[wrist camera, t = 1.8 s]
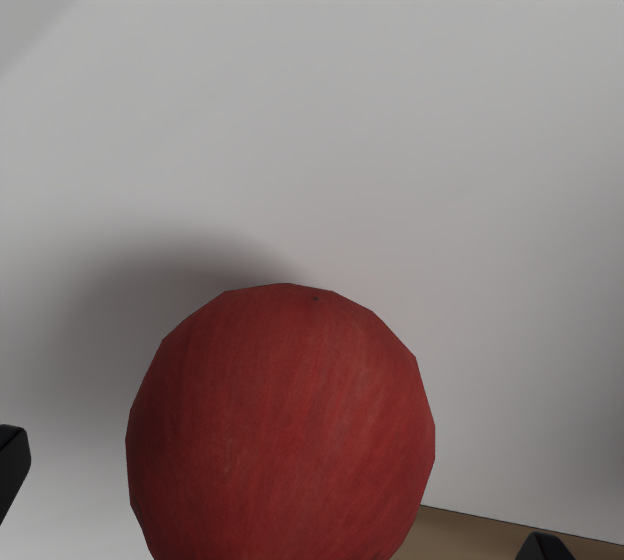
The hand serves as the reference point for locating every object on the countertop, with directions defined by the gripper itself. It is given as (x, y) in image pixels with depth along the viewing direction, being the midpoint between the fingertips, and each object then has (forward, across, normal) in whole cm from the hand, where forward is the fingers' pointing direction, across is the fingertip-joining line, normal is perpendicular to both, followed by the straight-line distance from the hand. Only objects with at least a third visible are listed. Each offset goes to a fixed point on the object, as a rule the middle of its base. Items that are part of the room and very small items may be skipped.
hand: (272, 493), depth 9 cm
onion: (+5, 0, 0) cm, 5 cm away
